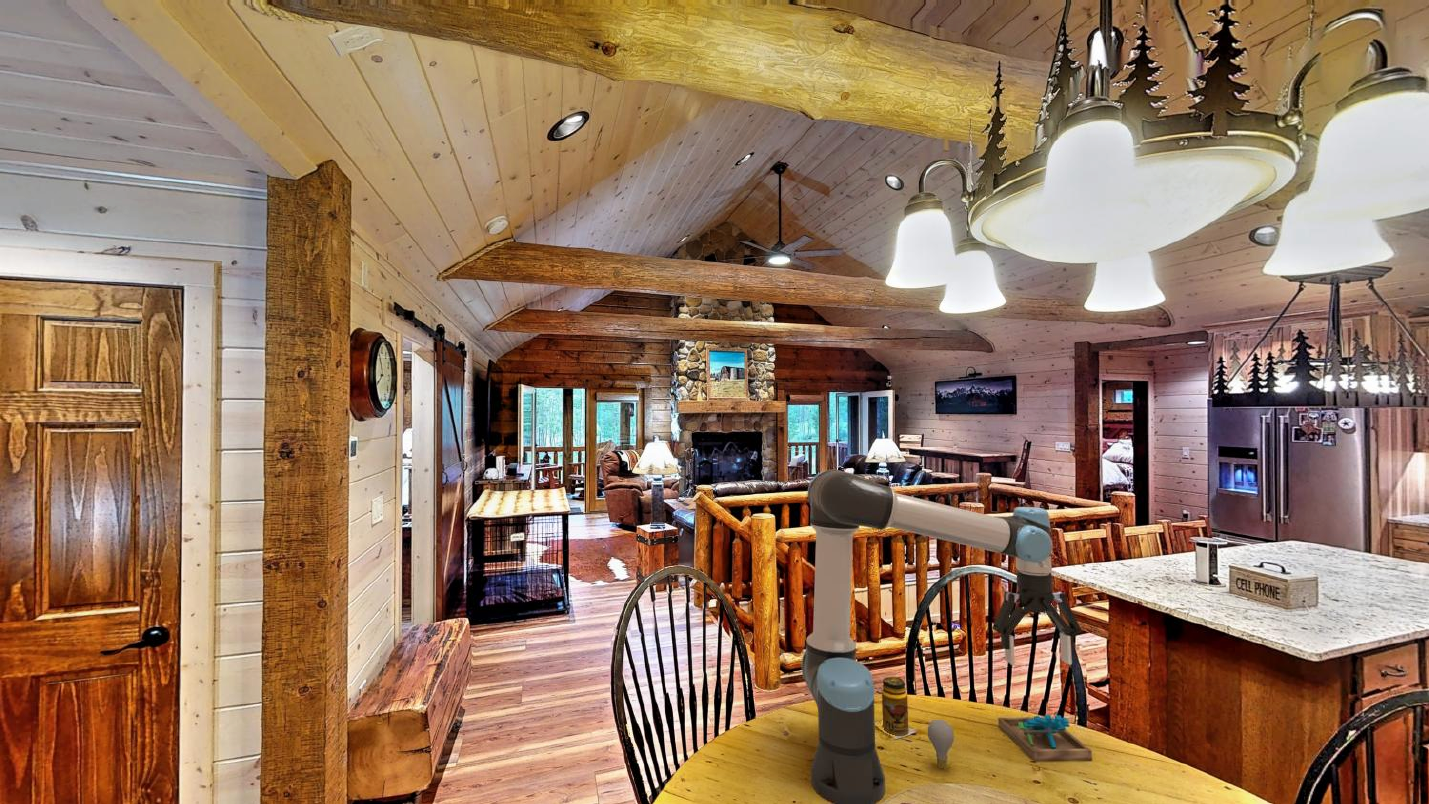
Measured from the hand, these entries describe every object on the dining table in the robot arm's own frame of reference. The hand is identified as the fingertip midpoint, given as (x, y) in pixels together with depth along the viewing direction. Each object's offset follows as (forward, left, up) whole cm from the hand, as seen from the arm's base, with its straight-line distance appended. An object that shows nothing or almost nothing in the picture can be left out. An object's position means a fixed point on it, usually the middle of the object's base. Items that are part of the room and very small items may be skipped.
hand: (1038, 662), depth 131 cm
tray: (0, 0, -18) cm, 18 cm away
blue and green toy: (0, 0, -18) cm, 18 cm away
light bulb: (-28, -9, -19) cm, 35 cm away
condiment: (-33, +8, -19) cm, 39 cm away
